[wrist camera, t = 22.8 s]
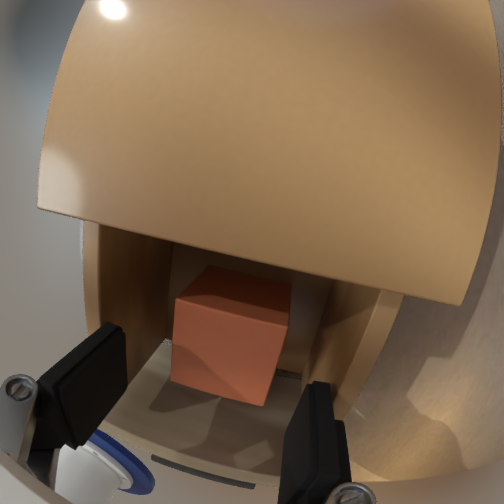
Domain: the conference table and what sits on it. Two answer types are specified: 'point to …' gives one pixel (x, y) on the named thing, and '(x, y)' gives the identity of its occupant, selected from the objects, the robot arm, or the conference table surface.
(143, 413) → the drawer
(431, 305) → the conference table surface
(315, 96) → the cabinet
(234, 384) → the block
